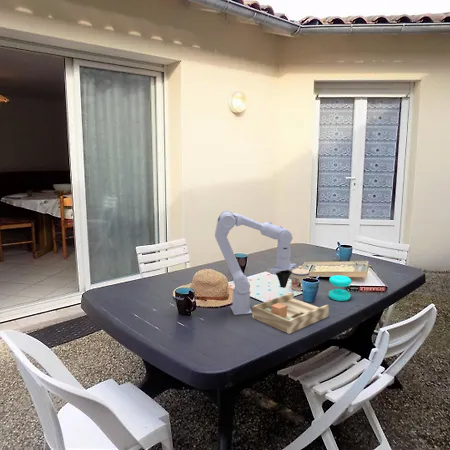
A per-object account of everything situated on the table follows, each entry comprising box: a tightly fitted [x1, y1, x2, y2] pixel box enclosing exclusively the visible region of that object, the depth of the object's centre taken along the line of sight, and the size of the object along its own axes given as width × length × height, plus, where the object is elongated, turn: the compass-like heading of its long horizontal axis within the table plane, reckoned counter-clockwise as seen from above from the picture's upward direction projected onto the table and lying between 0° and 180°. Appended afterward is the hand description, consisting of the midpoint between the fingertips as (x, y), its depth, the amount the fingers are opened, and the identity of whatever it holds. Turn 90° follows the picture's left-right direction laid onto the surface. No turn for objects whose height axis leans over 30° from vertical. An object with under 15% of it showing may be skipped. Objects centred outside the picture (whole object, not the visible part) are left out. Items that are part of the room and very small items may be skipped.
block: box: [271, 303, 287, 318], centre depth 157 cm, size 4×4×4 cm
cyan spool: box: [328, 274, 352, 302], centre depth 184 cm, size 10×10×10 cm
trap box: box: [251, 292, 330, 335], centre depth 162 cm, size 25×20×5 cm
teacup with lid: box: [290, 265, 310, 292], centre depth 196 cm, size 12×9×12 cm
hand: (283, 287), depth 169 cm, fingers closed
